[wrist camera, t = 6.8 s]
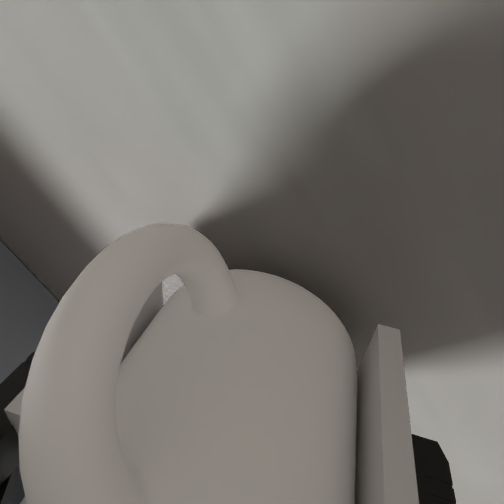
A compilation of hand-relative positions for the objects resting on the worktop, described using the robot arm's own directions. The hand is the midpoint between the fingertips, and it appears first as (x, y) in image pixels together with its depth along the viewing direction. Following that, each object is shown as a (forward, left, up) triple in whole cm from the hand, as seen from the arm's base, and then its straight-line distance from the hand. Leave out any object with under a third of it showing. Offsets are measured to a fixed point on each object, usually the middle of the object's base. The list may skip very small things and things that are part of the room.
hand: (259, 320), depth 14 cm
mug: (0, -1, -1) cm, 1 cm away
